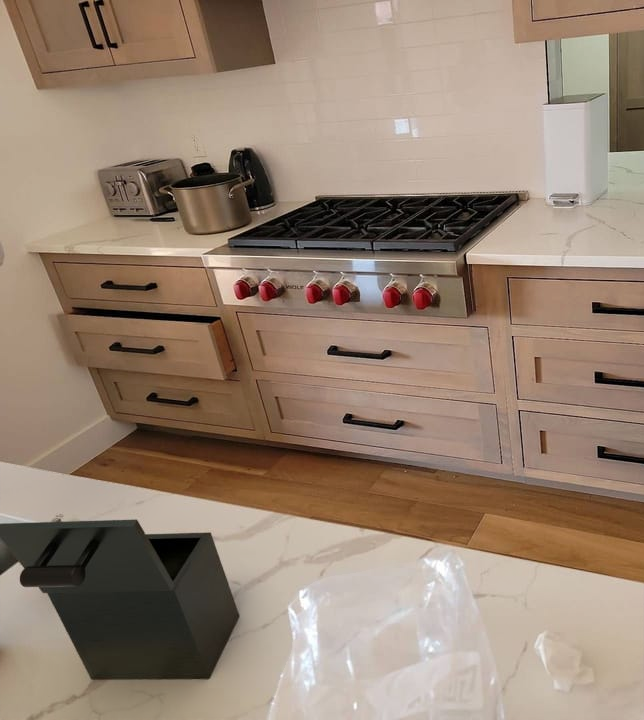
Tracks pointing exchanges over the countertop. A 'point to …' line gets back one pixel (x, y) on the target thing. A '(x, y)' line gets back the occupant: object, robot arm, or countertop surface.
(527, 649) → the countertop surface
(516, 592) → the countertop surface
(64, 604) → the bin
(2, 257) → the robot arm
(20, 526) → the bin lid
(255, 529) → the countertop surface
